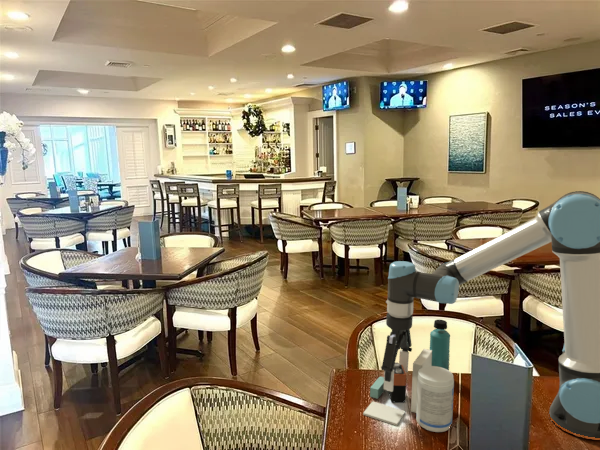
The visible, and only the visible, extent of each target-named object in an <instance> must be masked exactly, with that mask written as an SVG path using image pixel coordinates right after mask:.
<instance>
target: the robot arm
mask: <svg viewBox="0 0 600 450" xmlns="http://www.w3.org/2000/svg"><path fill="white" fill-rule="evenodd" d="M550 243H551V251H552V253H553V254H554V255H556V257H558V258H559V269H560V285H561V286H560V288H561V289H560V290H561V305H562V307H561V308H562V319H563V321H562V322H563V337H564V338H563V339H564V340H563V341H564V343H563V348H562V350H561V351H562V354H561V355H559V357H558V372H559V373H558V374H559V375H558V377H559V386H558V387H559V388H558V391H557V393H556V396H555V397H554V399H553V401H552V403H551V405H550V406H549V413H548V415H549V414H550V417H551V418H552V419H553V420H554V421H555V422H556V423H557V424H558V425H560V426H561V427H563V428H565V429H567V430H569V431H571V432H573V433H576V434H580V435H584V436H588V437H595V438H600V198H599V197H598V196H597V195H595V194H594V193H592V192H588V191H583V190H576V191H575V190H574V191H571V192H569V193H568V192H567V193H565V194H563V195H562V196H561V197H559V198H557V200H555V201H554V202H553V203H551V204H549V205H548V206H546V207H545V208H543V209H541V210H539V211H537V214H536V216H535V217H533V218H532V219H529V220H528V221H525V222H523V223H521V224H519V225H518V226H515V228H512V229H510V230H509V231H506V232H505V233H502V234H501V235H498V236H497V237H495V238H493V239H491V240H488V241H487V242H485V243H483V244H481V245H479V246H477V247H476V248H473V249H471V250H470V251H467V252H466V253H464V254H462V255H460V256H458V257H456V258H455V259H453V260H450V261H448V262H444V263H442V264H440V265H439V266H438V267H437V268H436V269H435V270H434V271H433V272H431V273H428V272H422V271H417V269H416V265H415V263H413V262H410V261H404V260H402V261H401V260H398V261H397V260H396V261H393V262H391V263H390V264H389V269H388V277H387V282H388V283H387V300H386V301H385V303H386V304H387V306H386V312H387V313H386V321H385V322H386V323H385V324H386V326H387V327H388V328H389V329H391V332H390V333H389V335H386V343H385V349H384V355H383V358H382V359H383V360H382V365H381V366H380V369H381V371H384V372H383V377H384V391H387V392H388V391H391V392H393V386H394V370H393V368H394V364H395V363H396V359H397V355H398V352H399V361H398V363H399V364H400V365H403V368H404V370H405V373H408V372H409V356H410V355H409V354H410V352H412V351H413V348H412V338H411V337H412V336H411V328H412V327H413V317H414V316H413V314H414V299H421V300H425V301H430V302H431V301H432V302H435V303H439V304H447V305H448V304H449V305H450V304H451V305H453V304H455V303H456V302H457V299H458V296H459V291H460V286H461V285H463V284H465V283H467V282H469V281H471V280H473V279H475V278H477V277H479V276H481V275H484V274H486V273H489V272H490V271H492V270H494V269H497V268H498V267H501V266H502V265H505V264H507V263H509V262H512V261H513V260H515V259H517V258H520V257H522V256H524V255H526V254H529V253H531V252H533V251H534V250H537V249H539V248H541V247H543V246H546V245H548V244H550Z"/></svg>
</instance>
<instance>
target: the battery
mask: <svg viewBox="0 0 600 450" xmlns="http://www.w3.org/2000/svg"><path fill="white" fill-rule="evenodd" d="M393 370H394V386H393V392H391V391H387V392H388V396H389V399H390V402H391V403H402V404H403V403H406V400H407V399H406V397H407V396H406V394H407V372H405V370H404V368H403V365H400V364H399V362H395V364H394V368H393Z"/></svg>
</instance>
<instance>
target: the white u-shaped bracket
mask: <svg viewBox="0 0 600 450" xmlns="http://www.w3.org/2000/svg"><path fill="white" fill-rule="evenodd" d="M431 365H432V350H430V349H426V348H423V350H421V352H420V353H419V355H418V356H417V357H416V359H415V360H414V361H413V363H412V374H411V375H412V378H411V398H410V399H411V400H410V401H411V402H410V412H412V413H415V414H416V409H417V378H418V371H419V369H421V368H422V367H426V366H431Z"/></svg>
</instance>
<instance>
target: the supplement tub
mask: <svg viewBox="0 0 600 450" xmlns="http://www.w3.org/2000/svg"><path fill="white" fill-rule="evenodd" d="M454 388H455V379H454V374H453V372H451V371H450V369H449V370H447V369H445V368H442V367H437V366H426V367H422V368H421V369H419V371H418V378H417V409H416V413H415V415H416V418H415V419H416V422H417V424H418V425H419V426H420V427H422V428H423V429H424V430H427V431H429V432H432V433H433V432H435V433H443V432H446V431H448V430H450V429H449V427H450V425H451V424H452V425H453V413H454V411H453V410H454Z"/></svg>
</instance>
